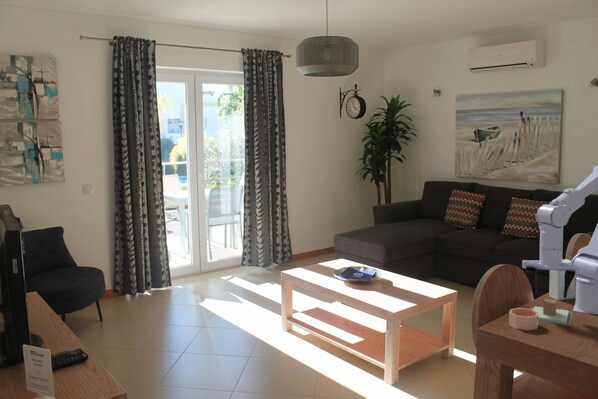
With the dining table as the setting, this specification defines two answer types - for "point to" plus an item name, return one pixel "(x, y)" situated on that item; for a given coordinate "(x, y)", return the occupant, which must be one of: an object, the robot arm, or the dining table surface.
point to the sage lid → (551, 312)
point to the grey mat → (560, 323)
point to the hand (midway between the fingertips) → (549, 295)
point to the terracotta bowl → (523, 319)
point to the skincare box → (560, 284)
